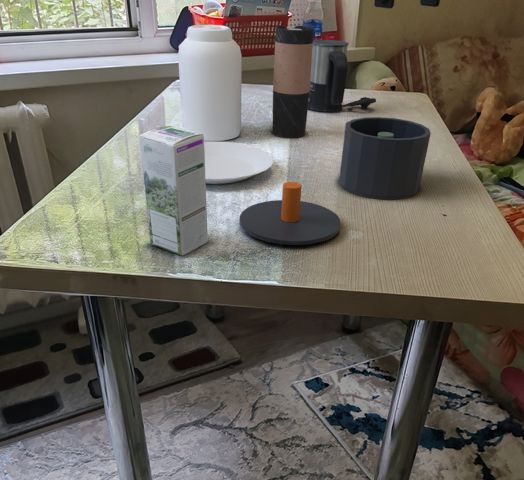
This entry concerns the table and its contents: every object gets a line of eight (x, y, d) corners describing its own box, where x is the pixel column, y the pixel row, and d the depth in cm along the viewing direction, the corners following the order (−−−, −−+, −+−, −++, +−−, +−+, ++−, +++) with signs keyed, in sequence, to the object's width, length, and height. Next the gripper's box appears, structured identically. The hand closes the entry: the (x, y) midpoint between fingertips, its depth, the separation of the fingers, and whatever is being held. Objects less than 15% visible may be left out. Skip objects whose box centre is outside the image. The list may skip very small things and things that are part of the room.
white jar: (252, 136, 116) (255, 28, 104) (204, 146, 110) (200, 31, 98) (218, 123, 124) (216, 21, 112) (171, 131, 117) (164, 23, 105)
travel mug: (295, 140, 115) (302, 31, 103) (264, 134, 118) (268, 27, 106) (312, 132, 120) (321, 27, 108) (282, 126, 123) (287, 24, 111)
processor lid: (341, 212, 84) (346, 172, 81) (337, 253, 73) (343, 209, 69) (248, 203, 86) (249, 164, 82) (230, 243, 74) (230, 199, 71)
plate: (198, 146, 109) (198, 135, 108) (292, 166, 101) (293, 153, 100) (131, 176, 94) (129, 163, 93) (235, 201, 87) (235, 187, 85)
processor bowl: (415, 175, 99) (426, 120, 94) (421, 202, 89) (433, 142, 83) (340, 169, 101) (347, 114, 95) (337, 195, 90) (344, 135, 84)
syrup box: (209, 242, 74) (206, 131, 66) (181, 257, 71) (173, 142, 62) (178, 231, 77) (170, 123, 68) (148, 245, 73) (137, 133, 64)
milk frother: (298, 106, 140) (302, 40, 131) (345, 100, 147) (352, 37, 138) (333, 119, 130) (340, 48, 122) (382, 111, 138) (392, 45, 129)
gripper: (408, -165, 62) (384, 10, 73) (499, -148, 71) (465, 7, 81) (362, -159, 67) (345, 5, 77) (452, -143, 76) (426, 3, 86)
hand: (407, 6), depth 79 cm, fingers open, 9 cm apart
